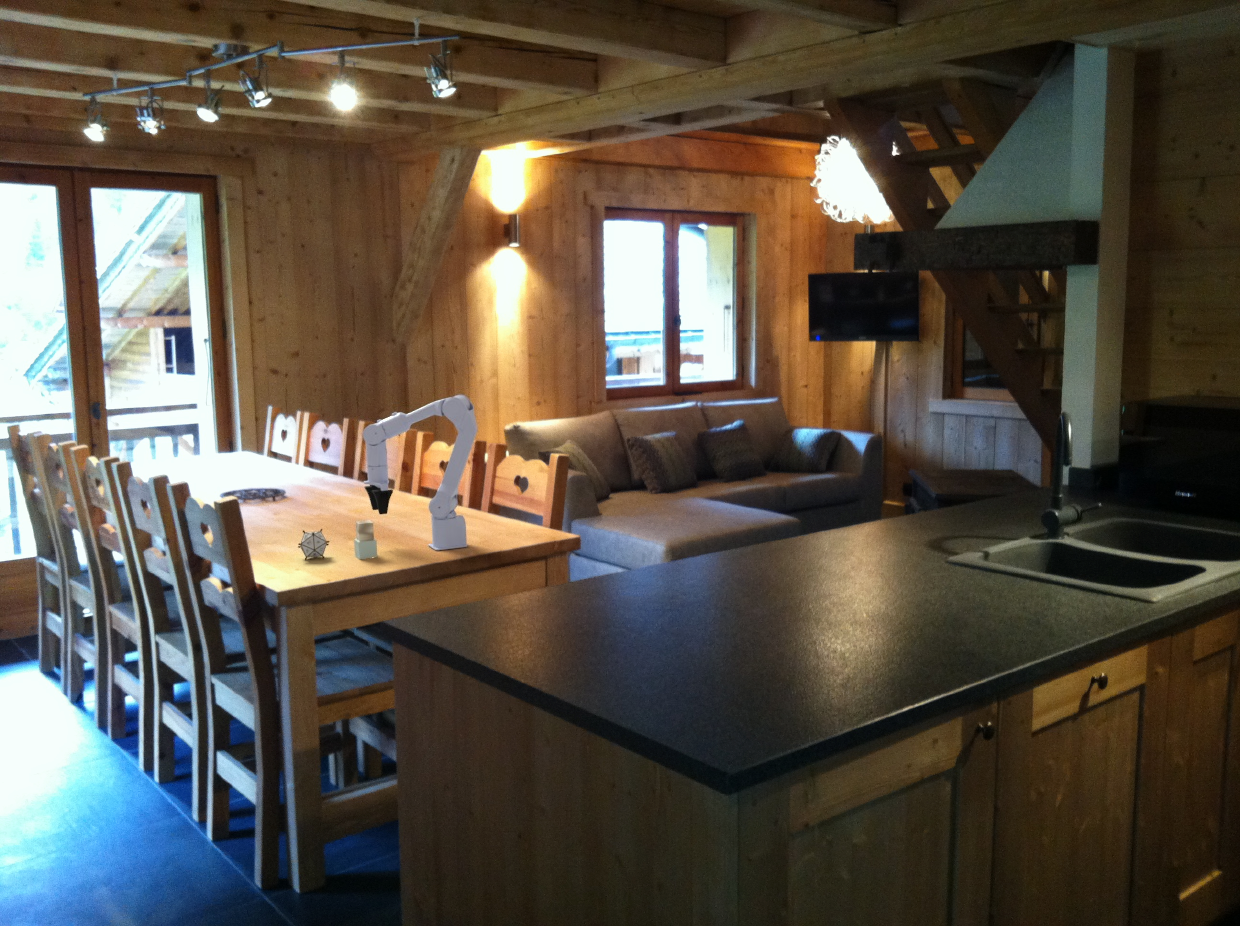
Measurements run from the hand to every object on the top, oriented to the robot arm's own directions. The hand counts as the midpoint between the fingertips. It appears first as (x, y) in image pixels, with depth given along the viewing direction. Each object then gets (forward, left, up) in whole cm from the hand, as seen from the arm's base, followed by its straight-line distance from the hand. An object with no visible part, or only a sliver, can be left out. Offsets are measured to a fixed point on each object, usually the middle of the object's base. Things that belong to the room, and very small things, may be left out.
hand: (379, 511), depth 314 cm
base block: (+7, +10, -10) cm, 16 cm away
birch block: (+7, +10, -6) cm, 13 cm away
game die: (+20, +4, -11) cm, 23 cm away
